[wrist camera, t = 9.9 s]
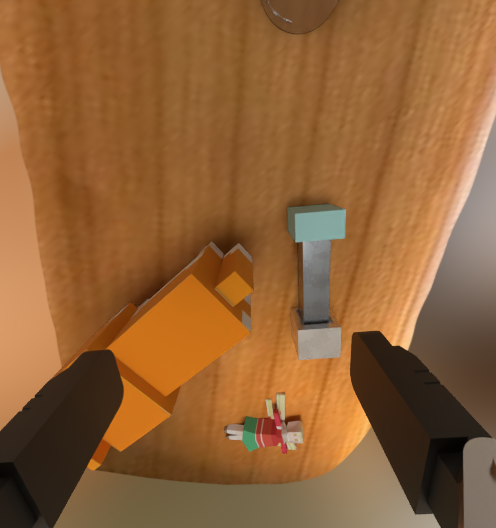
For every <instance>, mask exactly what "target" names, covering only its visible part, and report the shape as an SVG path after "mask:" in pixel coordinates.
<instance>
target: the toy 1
mask: <svg viewBox="0 0 496 528" xmlns="http://www.w3.org/2000/svg"><path fill="white" fill-rule="evenodd" d="M223 255H224V254H223V253H222V251H221V250H220V249H219V248H218V247H217V246H216V245H215V244H214V243H213V242H211V243H210V244H208V245H207V246H206V247H205V248H204V249H203V250H202V251H201V252H199V254H198V256H197V257H196V258H195V259H194V260H193V261H192V262H191V263H190V264H188V265H187V266H186V267H185V268H184V269H183V270H182V271H181V272H179V273H178V274H177V275H176V276H175V277H174V278H173V279H172V280H170V281H169V282H168V283H167V284H166V285H165V286H164V287H163V288H161V289H160V290H159V291H158V292H157V293H156V294H155V295H154V296H152V297H151V298H150V299H147V300H146V301H145V302H143V303H142V304H141V305H140V306H139V307H138V308H136V307H135V306H134V305H133V304H132V303H131V302H130V303H129V304H128V305H126V306H125V307H124V308H123V309H122V310H121V311H120V312H119V313H118V314H117V315H115V316H114V317H113V318H112V319H111V320H110V321H109V322H108V323H107V324H106V325H104V326H103V327H102V328H101V329H100V330H99V331H98V332H97V333H96V334H95V335H93V336H92V337H91V338H90V339H89V340H88V341H87V342H86V343H85V344H84V345H83V346H82V348H81V349H80V350H79V351H78V352H77V353H76V354H75V355H74V356H73V357H72V358H71V359H70V360H69V361H68V362H67V363H66V364H65V365H64V366H63V367H62V368H61V369H60V370H59V371H58V372H57V373H56V374H55V376H57V375H58V374H59V373H61V372H62V371H64V370H65V369H67V368H69V367H70V365H71V364H72V363H73V362H74V361H75V360H76V359H77V358H78V357H79V356H80V355H81V354H82V353H83V352H85V351H94V350H107V349H109V350H111V351H112V352H113V353H114V356H115V359H116V363H117V366H118V369H119V372H120V376H121V379H122V382H123V386H124V396H123V400H122V403H121V406H120V408H119V410H118V411H117V413H116V415H115V417H114V419H113V420H112V422H111V424H110V426H109V428H108V429H107V431H106V433H105V435H104V437H103V438H102V440H101V442H100V444H99V446H98V448H97V449H96V451H95V453H94V455H93V457H92V458H91V460H90V462H89V464H88V466H87V467H88V468H89V469H91V470H92V471H93V470H95V469H96V468H97V467H99V466H100V465H101V464H102V462H103V460H104V458H105V456H106V454H107V452H108V450H109V448H110V446H111V445H112V446H113V447H115V448H116V449H118V450H119V451H122V450H124V449H125V448H127V447H128V446H129V445H131V444H132V443H133V442H135V441H136V440H138V439H139V438H140V437H142V436H143V435H145V434H146V433H147V432H149V431H150V430H151V429H153V428H154V427H156V426H157V425H158V424H160V423H161V422H162V421H164V420H165V419H167V418H168V417H169V416H171V414H172V411H173V408H174V405H175V402H176V399H177V396H178V393H179V389H180V386H181V385H182V384H183V383H185V382H186V381H187V380H189V379H190V378H191V377H193V376H194V375H195V374H197V373H198V372H199V371H201V370H202V369H203V368H205V367H206V366H207V365H209V364H210V363H211V362H213V361H214V360H215V359H217V358H218V357H219V356H221V355H222V354H223V353H225V352H226V351H227V350H228V349H230V348H231V347H232V346H234V345H235V344H236V343H238V342H239V341H240V340H242V339H243V338H244V337H246V336H247V335H248V334H250V333H251V300H250V295H249V294H250V293H251V292H253V291H254V288H253V267H252V257H251V256H250V254H249V253H248V252H247V251H246V250H245V249H244V248H243V247H242V246H241V245H240V244H239V243H238V244H237V245H236V246H234V247H233V248H232V249H231V250H230V251H229V252H228V253H226V254H225V255H224V257H223ZM222 258H223V261H222ZM221 261H222V264H221ZM220 264H221V265H220ZM55 376H54V377H55ZM54 377H53V378H54Z"/></svg>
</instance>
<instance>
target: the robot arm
mask: <svg viewBox="0 0 496 528" xmlns="http://www.w3.org/2000/svg"><path fill="white" fill-rule="evenodd" d="M261 2H262V5H263V7H264V10H265V12H266V14H267V15H268V17H269V18H270V19H271V21H272V22H273V23H274V24H275V25H276V26H277V27H279V28H280V29H282V30H284V31H286V32H289V33H294V34H301V33H306V32H310V31H312V30H314V29H316V28H317V27H319V26H320V25H321V24H322V23H324V22H325V21H326V20H327V18H328V17H329V16H330V14H331V13H332V12H333V10H334V8H335V6H336V4H337V2H338V0H261ZM350 376H351V382H352V385H353V388H354V391H355V393H356V395H357V397H358V399H359V401H360V403H361V405H362V407H363V409H364V411H365V413H366V416H367V418H368V420H369V422H370V424H371V426H372V428H373V430H374V432H375V434H376V436H377V438H378V440H379V442H380V444H381V446H382V448H383V450H384V452H385V454H386V456H387V458H388V460H389V462H390V464H391V466H392V468H393V470H394V472H395V474H396V476H397V478H398V480H399V482H400V485H401V487H402V489H403V490H404V493H405V495H406V497H407V499H408V501H409V503H410V505H411V507H412V509H413V511H414V513H415V514H434V516H435V518H436V520H437V521H438V523H439V525H440V527H441V528H496V439H493V438H492V437H491V436H490V435H489V434H488V433H487V432H486V431H485V430H484V429H483V428H482V426H481V425H480V424H479V423H478V422H477V421H476V420H475V419H474V418H473V417H472V416H471V415H470V414H469V413H468V411H467V410H466V409H465V408H464V407H463V406H462V405H461V404H460V403H459V402H458V401H457V400H456V398H455V397H453V395H452V394H451V393H450V392H449V391H448V390H447V389H446V388H445V387H444V386H443V385H441V384H440V381H439V380H438V379H437V378H436V377H435V376H434V375H433V374H432V373H430V372H429V369H428V368H427V367H426V366H425V365H424V364H423V363H422V362H421V361H420V360H419V359H418V358H417V357H416V356H415V355H413V354H412V353H410V352H409V351H407V350H405V349H404V348H402V347H401V346H392V345H391V344H390V343H389V341H388V340H387V339H386V338H385V337H384V335H383V334H382V333H381V332H380V331H367V332H354V333H353V335H352V344H351V363H350ZM123 396H124V386H123V382H122V379H121V376H120V372H119V369H118V366H117V363H116V359H115V356H114V353H113V352H112V351H111V350H109V349H107V350H94V351H85V352H83V353H82V354H81V355H80V356H79V357H78V358H77V359H76V360H75V361H74V362H73V363H72V364H71V365H70V367H69V368H67V369H65V370H64V371H62V372H61V373H59V374H58V375H57V376H55V377H54V378H52V379H51V380H49V381H48V382H47V383H46V384H45V385H44V386H43V388H42V389H41V390H40V391H39V392H38V393H37V394H36V395H35V398H33V399H31V400H30V401H29V402H28V403H27V404H26V405H25V406H24V407H23V410H22V411H20V412H18V413H17V414H16V415H15V416H14V417H13V419H11V421H10V422H9V423H8V424H7V425H6V426H5V427H4V428H3V429H2V430H1V431H0V528H53V527H54V525H55V523H56V521H57V520H58V518H59V516H60V514H61V513H62V511H63V509H64V507H65V505H66V504H67V502H68V500H69V498H70V496H71V494H72V492H73V491H74V489H75V487H76V485H77V484H78V482H79V480H80V478H81V476H82V475H83V473H84V471H85V469H86V467H87V466H88V464H89V462H90V460H91V458H92V457H93V455H94V453H95V451H96V449H97V448H98V446H99V444H100V442H101V440H102V438H103V437H104V435H105V433H106V431H107V429H108V428H109V426H110V424H111V422H112V420H113V419H114V417H115V415H116V413H117V411H118V410H119V408H120V406H121V403H122V400H123Z"/></svg>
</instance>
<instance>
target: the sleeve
mask: <svg viewBox="0 0 496 528" xmlns="http://www.w3.org/2000/svg"><path fill="white" fill-rule="evenodd" d="M291 331H292V337H293V341H294V345H295V348H296V352H297V356H298V359H299V360H305V359H319V358H334V357H340V351H341V326H340V324H339V322H338V321H337V319H336V318H335V316H334V314H333V313H332V311H331V309H330V308H329V323H325V324H312V325H301V323H300V316H299V307H296V308H291Z"/></svg>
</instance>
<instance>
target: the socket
mask: <svg viewBox="0 0 496 528" xmlns="http://www.w3.org/2000/svg"><path fill="white" fill-rule="evenodd" d="M287 216H288V232H289V234H290V235H291V237H292V238H293V239H294V241H295V242H307V241H319V240H331V239H343V238H345V220H346V209H343V208H340V207H337V206H335V205H332V204H321V205H309V206H298V207H287Z"/></svg>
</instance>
